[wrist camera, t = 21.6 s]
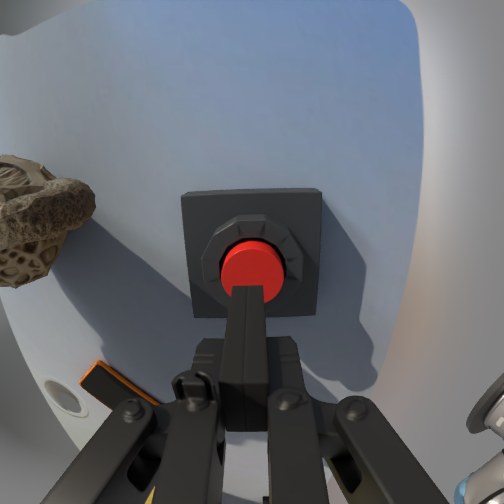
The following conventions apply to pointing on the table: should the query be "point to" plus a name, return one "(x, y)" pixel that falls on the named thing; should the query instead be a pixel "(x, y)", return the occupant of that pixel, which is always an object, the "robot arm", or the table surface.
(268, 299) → the power button
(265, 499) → the switch bracket
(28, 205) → the teapot
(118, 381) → the smartphone
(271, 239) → the control block
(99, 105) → the table surface
